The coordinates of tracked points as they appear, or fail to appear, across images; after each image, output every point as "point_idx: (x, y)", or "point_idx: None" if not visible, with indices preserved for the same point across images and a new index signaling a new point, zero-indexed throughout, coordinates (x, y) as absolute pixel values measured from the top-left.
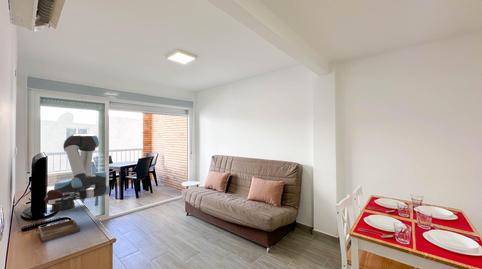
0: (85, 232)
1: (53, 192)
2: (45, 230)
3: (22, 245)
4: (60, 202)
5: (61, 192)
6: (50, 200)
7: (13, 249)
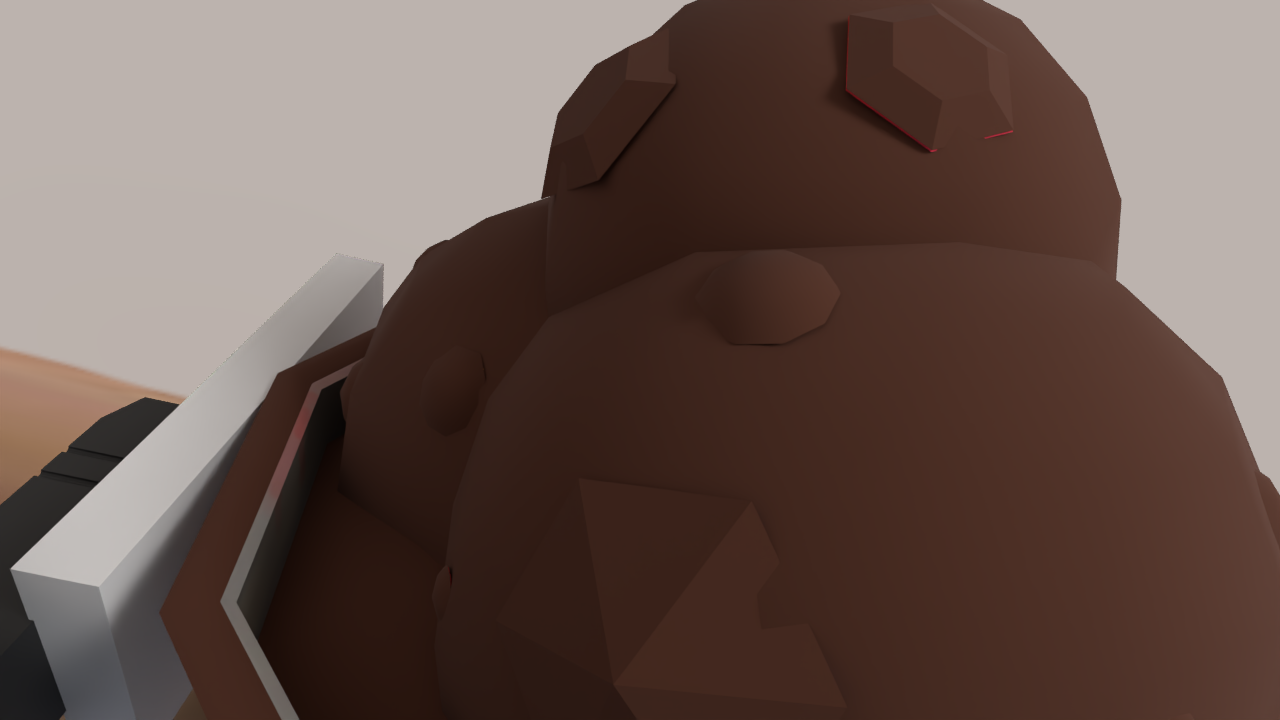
0: None
1: (590, 74)
2: (205, 716)
3: (70, 434)
4: (93, 713)
5: (799, 588)
6: (307, 283)
7: (78, 377)
